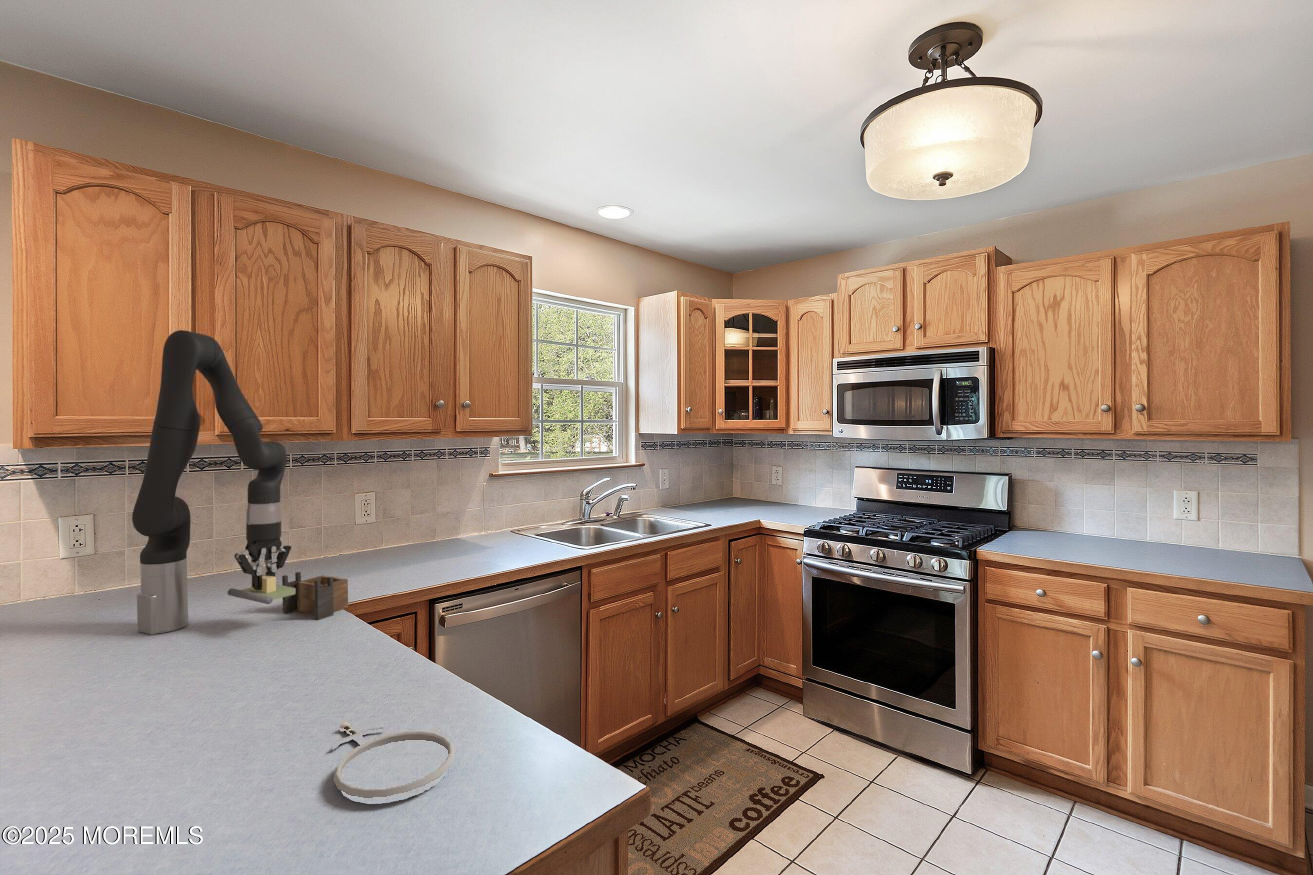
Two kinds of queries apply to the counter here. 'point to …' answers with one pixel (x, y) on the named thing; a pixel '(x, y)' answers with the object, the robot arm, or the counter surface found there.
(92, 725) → the counter surface
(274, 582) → the lid
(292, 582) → the chest
